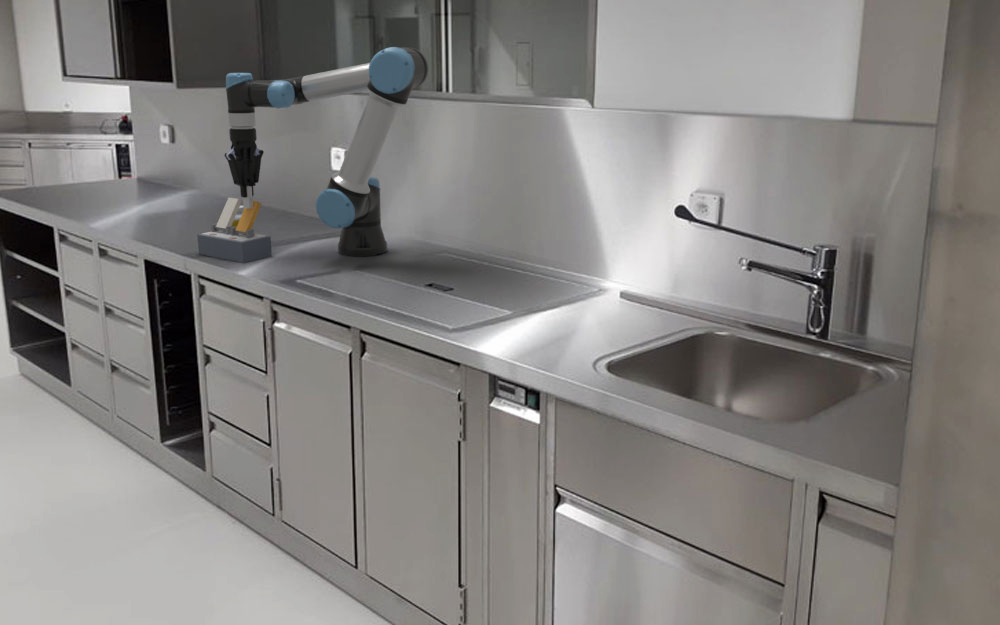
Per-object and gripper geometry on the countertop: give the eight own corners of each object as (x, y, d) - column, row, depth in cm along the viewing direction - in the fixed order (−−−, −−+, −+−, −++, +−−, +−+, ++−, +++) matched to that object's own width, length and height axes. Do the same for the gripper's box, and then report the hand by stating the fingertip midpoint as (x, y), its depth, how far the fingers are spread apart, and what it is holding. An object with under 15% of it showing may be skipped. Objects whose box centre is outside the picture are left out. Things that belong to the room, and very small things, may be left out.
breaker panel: (272, 256, 279) (270, 227, 276) (243, 263, 270) (240, 234, 268) (228, 247, 290) (225, 220, 287) (199, 254, 281) (196, 226, 279)
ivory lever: (229, 233, 280) (243, 201, 282) (225, 230, 278) (239, 199, 281) (217, 230, 283) (231, 199, 285) (213, 228, 281) (227, 197, 284)
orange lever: (249, 236, 275) (262, 204, 277) (245, 234, 273) (259, 201, 275) (237, 234, 278) (250, 202, 280) (233, 232, 276) (246, 199, 278)
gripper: (251, 125, 276) (256, 203, 283) (216, 128, 266) (222, 209, 273) (268, 126, 272) (273, 206, 279) (233, 129, 262) (239, 212, 269)
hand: (248, 207), depth 276 cm, fingers closed
